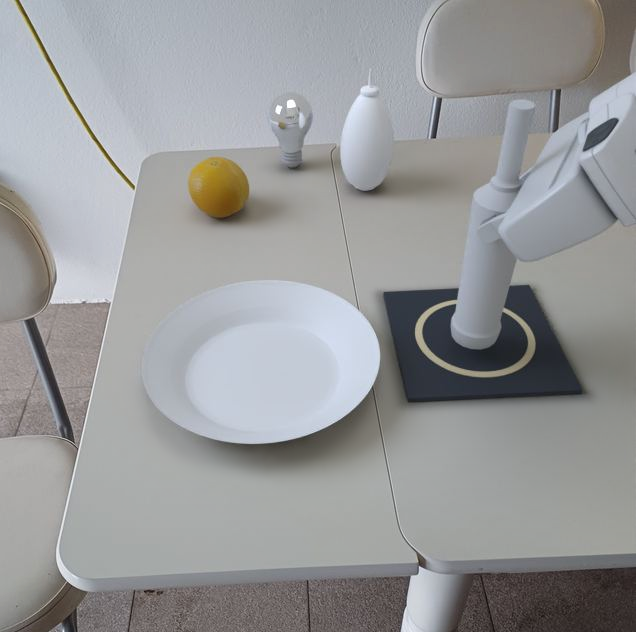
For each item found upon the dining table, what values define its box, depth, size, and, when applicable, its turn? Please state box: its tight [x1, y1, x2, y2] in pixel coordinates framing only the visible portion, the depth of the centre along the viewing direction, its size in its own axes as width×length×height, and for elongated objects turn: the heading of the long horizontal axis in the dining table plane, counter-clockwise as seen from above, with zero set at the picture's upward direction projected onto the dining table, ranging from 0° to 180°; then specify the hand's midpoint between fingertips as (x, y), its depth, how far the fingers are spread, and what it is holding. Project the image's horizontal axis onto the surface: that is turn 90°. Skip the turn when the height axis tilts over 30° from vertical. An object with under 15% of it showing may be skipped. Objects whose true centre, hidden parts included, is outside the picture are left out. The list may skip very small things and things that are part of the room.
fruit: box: [187, 156, 250, 219], centre depth 94 cm, size 9×8×8 cm
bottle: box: [451, 99, 536, 349], centre depth 61 cm, size 5×5×25 cm
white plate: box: [140, 279, 381, 445], centre depth 69 cm, size 25×25×4 cm
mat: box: [382, 284, 584, 403], centre depth 73 cm, size 18×18×1 cm
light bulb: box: [267, 91, 314, 169], centre depth 102 cm, size 7×7×12 cm
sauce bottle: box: [339, 67, 395, 192], centre depth 94 cm, size 8×8×18 cm
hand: (492, 218), depth 60 cm, fingers closed on bottle, 5 cm apart
